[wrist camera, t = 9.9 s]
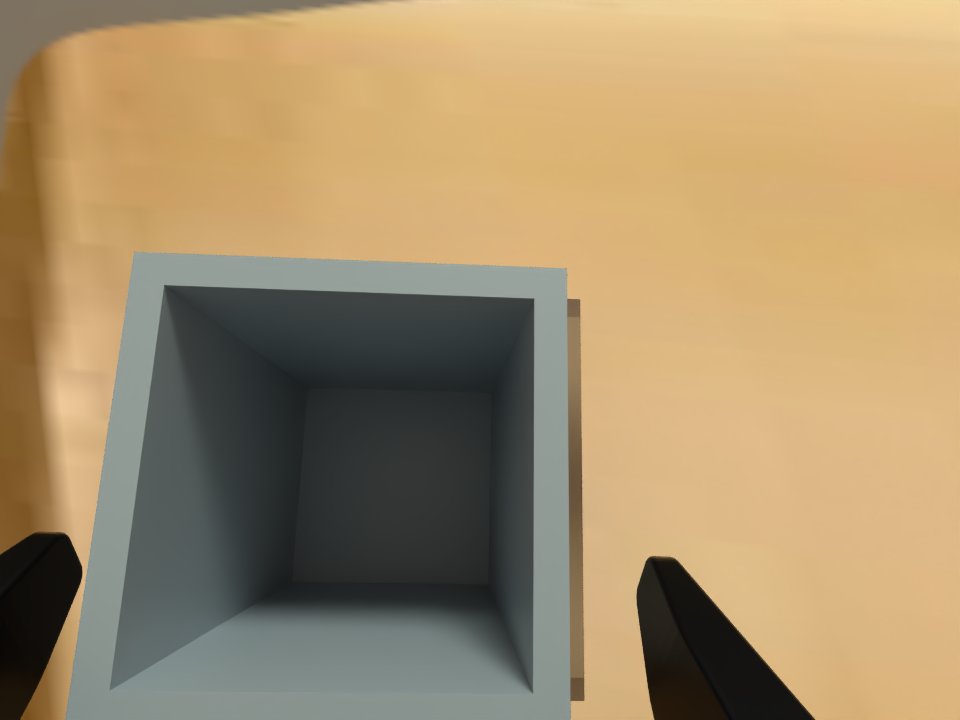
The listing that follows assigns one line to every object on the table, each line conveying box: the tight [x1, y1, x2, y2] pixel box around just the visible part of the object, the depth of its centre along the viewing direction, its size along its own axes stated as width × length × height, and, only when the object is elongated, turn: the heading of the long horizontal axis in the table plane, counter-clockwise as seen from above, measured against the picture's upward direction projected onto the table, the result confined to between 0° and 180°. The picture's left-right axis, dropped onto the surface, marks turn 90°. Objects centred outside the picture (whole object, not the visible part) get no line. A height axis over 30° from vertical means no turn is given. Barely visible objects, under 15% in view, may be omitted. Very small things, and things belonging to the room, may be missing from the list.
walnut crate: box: [567, 299, 584, 701], centre depth 17 cm, size 10×10×4 cm
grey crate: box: [65, 252, 571, 720], centre depth 13 cm, size 6×6×10 cm
